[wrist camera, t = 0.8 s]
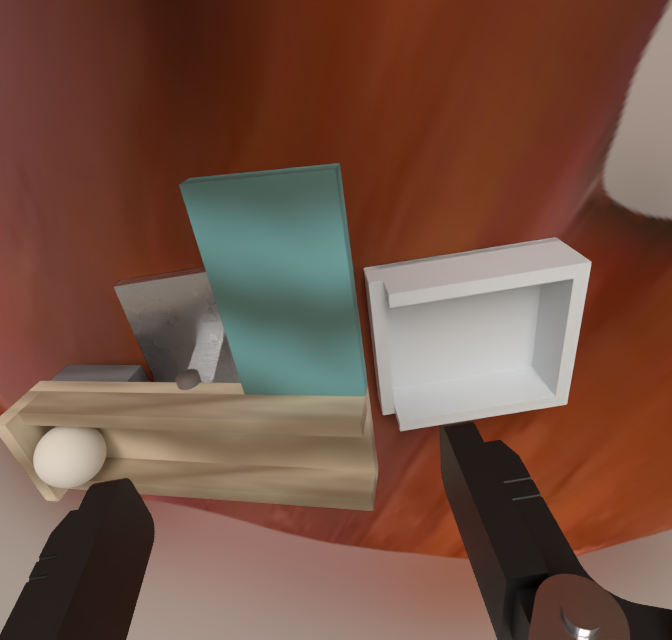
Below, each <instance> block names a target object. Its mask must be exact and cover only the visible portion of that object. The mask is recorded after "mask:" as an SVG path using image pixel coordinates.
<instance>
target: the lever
mask: <svg viewBox="0 0 672 640" xmlns="http://www.w3.org/2000/svg"><path fill="white" fill-rule="evenodd" d="M179 187H180V190H181V193H182V196H183V199H184V203H185V206H186V209H187V212H188V215H189V219H190V222H191V225H192V228H193V231H194V235H195V238H196V241H197V244H198V247H199V250H200V254H201V257H202V260H203V263H204V266H205V270H206V273H207V276H208V279H209V282H210V286H211V289H212V292H213V295H214V298H215V302H216V305H217V308H218V311H219V314H220V318H221V321H222V324H223V327H224V330H225V333H226V337H227V340H228V343H229V346H230V349H231V353H232V356H233V359H234V362H235V365H236V369H237V372H238V375H239V378H240V381H241V383H202V381H201V378H200V375H199V372H198V371H197V370H196V369H188V370H184V371H182V372H180V373H179V374H178V375H177V376H176V378H175V381H176V382H149V381H148V379H147V376H146V374H145V372H144V370H143V367H142V365H67V366H66V367H65V368H64V369H63V370H61V371H60V372H59V373H58V374H57V375H56V376H55V377H54V378H53V379H52V380H50V381H39V382H38V383H37V384H36V385H35V386H34V387H33V388H32V389H30V390H29V391H28V392H27V393H26V394H25V395H24V396H23V397H21V398H20V399H19V400H18V401H17V402H16V403H15V404H14V405H12V406H11V407H10V408H9V409H8V410H7V411H6V412H5V413H3V414H2V415H1V416H0V437H1V439H2V440H3V441H4V443H5V444H6V446H7V447H8V448H9V450H10V451H11V453H12V454H13V455H14V457H15V458H16V459H17V461H18V462H19V464H20V465H21V466H22V468H23V469H24V470H25V472H26V473H27V475H28V476H29V477H30V479H31V480H32V481H33V483H34V484H35V485H36V487H37V488H38V490H39V491H40V492H41V494H42V495H43V496H44V498H45V499H46V500H48V501H59V500H60V499H61V498H62V496H63V495H64V494H65V493H66V491H67V490H68V489H79V490H88V489H89V487H90V486H91V485H92V484H94V483H99V482H105V481H110V480H116V479H122V478H128V479H130V480H131V481H132V483H133V484H134V486H135V488H136V489H137V491H138V493H139V494H148V495H161V496H175V497H189V498H202V499H216V500H230V501H243V502H257V503H271V504H285V505H298V506H312V507H326V508H339V509H353V510H367V511H373V510H374V502H375V494H376V485H377V477H378V462H377V454H376V446H375V439H374V431H373V423H372V415H371V407H370V399H369V391H368V383H367V375H366V367H365V360H364V352H363V344H362V336H361V328H360V320H359V312H358V304H357V296H356V288H355V280H354V273H353V265H352V257H351V249H350V241H349V233H348V225H347V217H346V209H345V201H344V194H343V186H342V178H341V170H340V163H336V164H326V165H316V166H306V167H296V168H286V169H276V170H267V171H257V172H247V173H237V174H227V175H217V176H207V177H197V178H189V179H187V180H185V181H184V182H182V183H180V184H179ZM57 426H66V427H93V428H95V429H97V430H98V431H99V432H100V433H101V435H102V436H103V438H104V440H105V443H106V458H105V461H104V464H103V466H102V467H101V469H100V470H99V472H98V473H97V474H96V475H95V476H94V477H93V478H92V479H90V480H89V481H87V482H86V483H84V484H82V485H79V486H76V487H72V488H57V487H53V486H50V485H48V484H47V483H45V482H44V481H42V480H41V479H40V478H39V476H38V475H37V473H36V471H35V469H34V464H33V456H34V451H35V449H36V446H37V444H38V443H39V441H40V440H41V438H42V437H43V436H44V435H45V434H46V433H47V432H49V431H50V430H51V429H53V428H55V427H57Z"/></svg>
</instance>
